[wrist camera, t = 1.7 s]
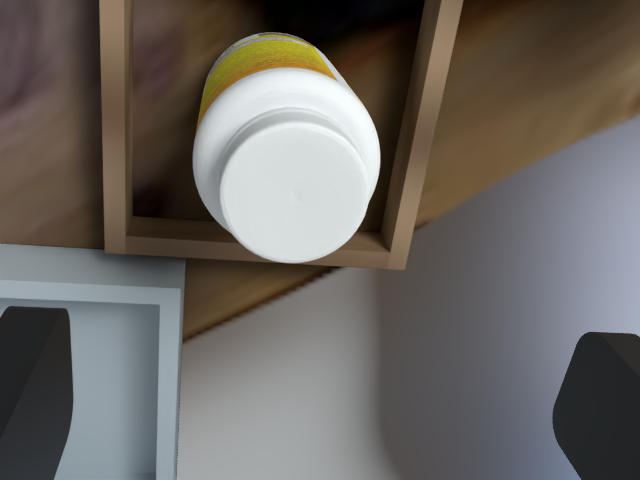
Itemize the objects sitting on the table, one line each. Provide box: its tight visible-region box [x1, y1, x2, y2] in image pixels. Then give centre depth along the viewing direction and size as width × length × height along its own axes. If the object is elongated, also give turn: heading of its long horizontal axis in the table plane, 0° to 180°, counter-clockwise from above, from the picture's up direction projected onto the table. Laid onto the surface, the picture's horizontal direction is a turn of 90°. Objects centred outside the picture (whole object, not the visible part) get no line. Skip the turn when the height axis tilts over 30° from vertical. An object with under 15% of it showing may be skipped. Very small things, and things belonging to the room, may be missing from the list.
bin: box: [0, 244, 186, 480], centre depth 28 cm, size 14×14×3 cm
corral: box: [99, 0, 463, 270], centre depth 24 cm, size 13×13×2 cm
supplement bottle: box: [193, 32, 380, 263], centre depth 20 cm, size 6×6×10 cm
